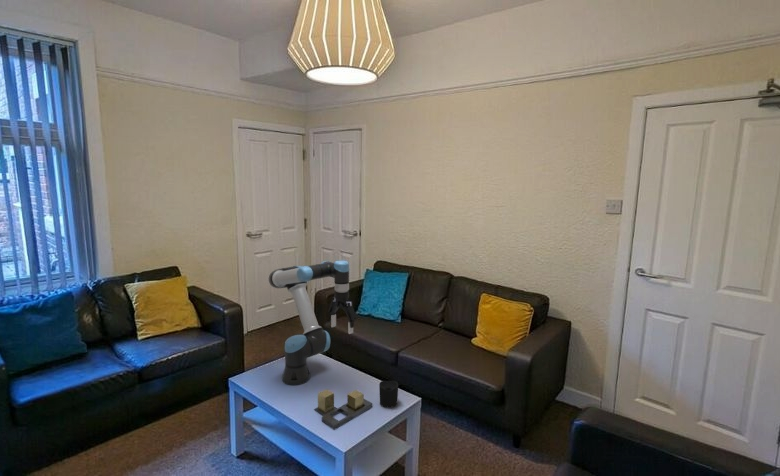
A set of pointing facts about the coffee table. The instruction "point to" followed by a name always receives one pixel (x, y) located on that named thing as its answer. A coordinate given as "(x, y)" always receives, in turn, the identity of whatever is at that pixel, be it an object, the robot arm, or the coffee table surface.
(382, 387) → the pen holder
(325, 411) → the tan textured cube
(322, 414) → the rubber pad
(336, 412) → the rail
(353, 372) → the coffee table surface
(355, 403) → the block
